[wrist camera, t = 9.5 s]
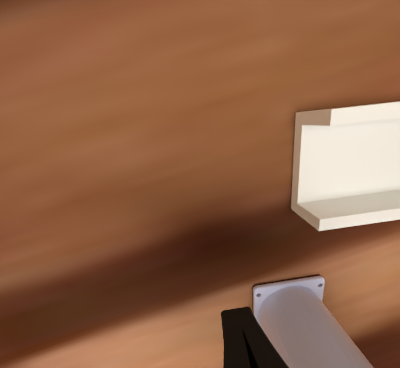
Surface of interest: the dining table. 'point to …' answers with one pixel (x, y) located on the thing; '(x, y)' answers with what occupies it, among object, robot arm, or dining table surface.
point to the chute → (347, 165)
